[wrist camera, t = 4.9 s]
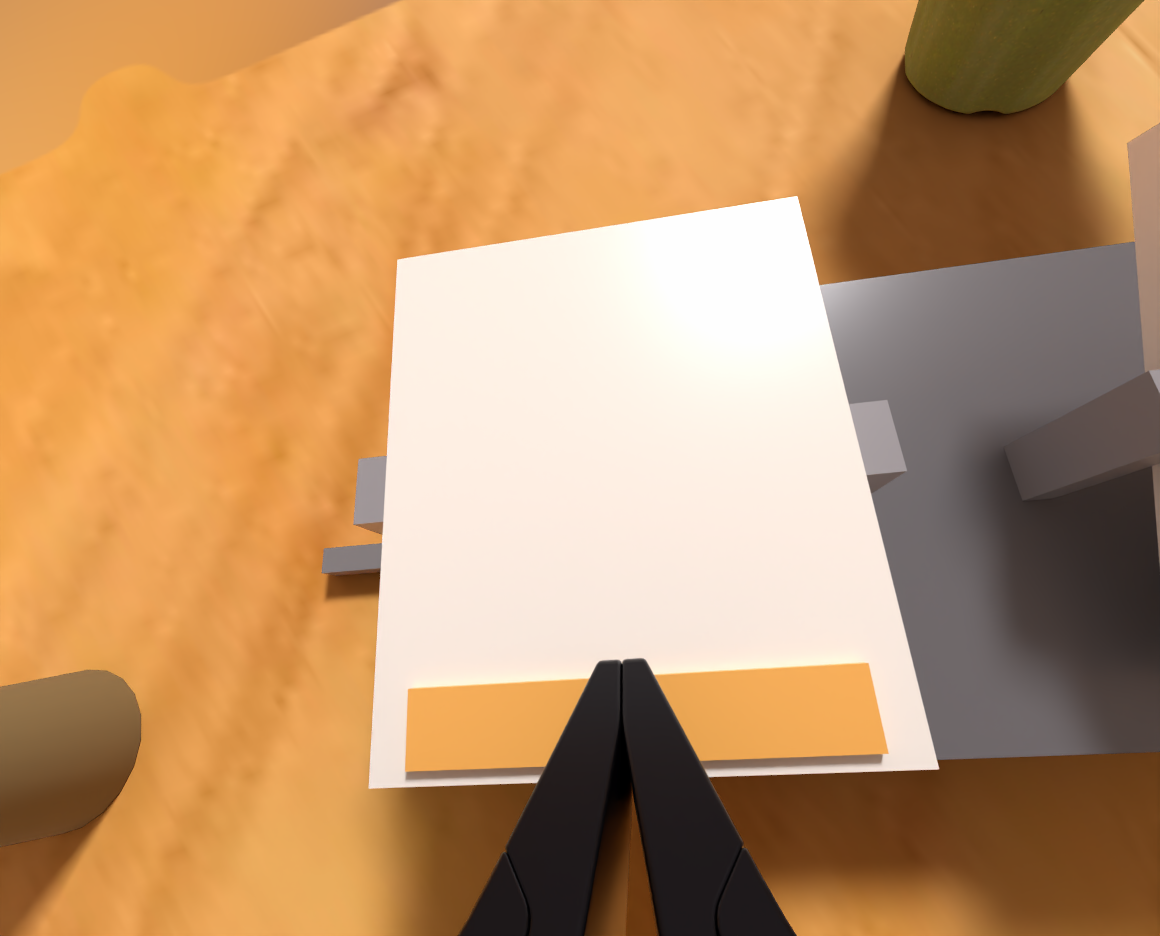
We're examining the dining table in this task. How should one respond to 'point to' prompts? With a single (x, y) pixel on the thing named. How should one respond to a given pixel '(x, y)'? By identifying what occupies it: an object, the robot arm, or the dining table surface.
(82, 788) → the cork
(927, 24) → the plant pot
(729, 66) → the dining table surface
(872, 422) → the rocker switch box
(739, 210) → the orange striped rocker plate
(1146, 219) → the white rocker
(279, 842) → the dining table surface
